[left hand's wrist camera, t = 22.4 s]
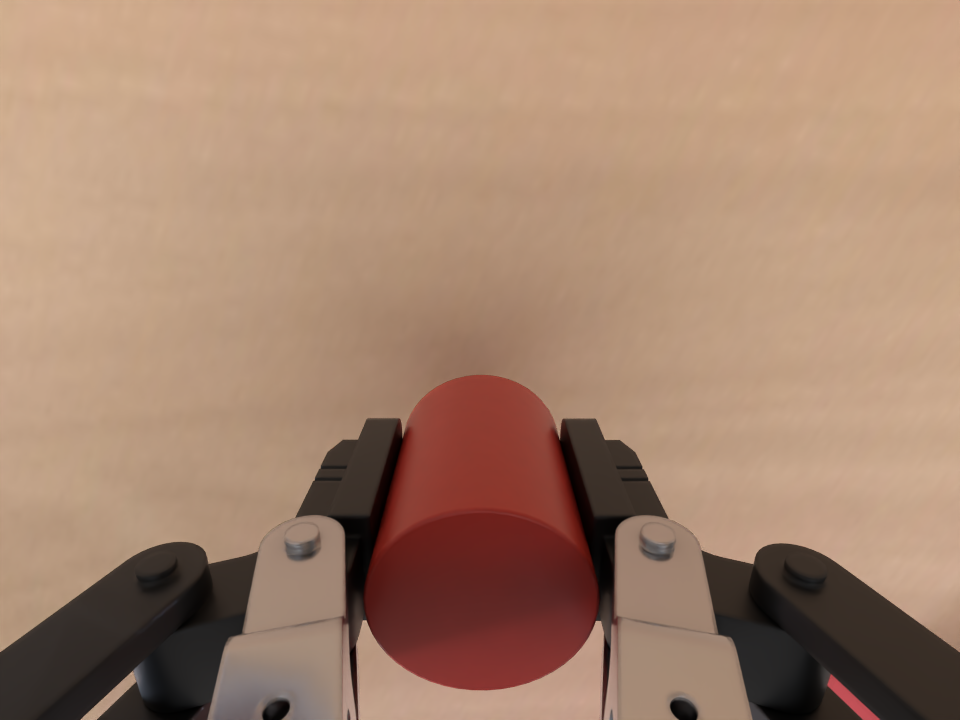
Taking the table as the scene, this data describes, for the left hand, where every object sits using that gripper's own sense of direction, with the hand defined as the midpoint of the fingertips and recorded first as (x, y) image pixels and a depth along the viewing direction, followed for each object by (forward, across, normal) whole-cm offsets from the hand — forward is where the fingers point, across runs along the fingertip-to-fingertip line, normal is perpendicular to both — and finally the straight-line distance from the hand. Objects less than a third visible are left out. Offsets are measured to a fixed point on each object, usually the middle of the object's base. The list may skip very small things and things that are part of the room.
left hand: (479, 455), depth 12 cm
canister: (0, 0, 0) cm, 0 cm away
